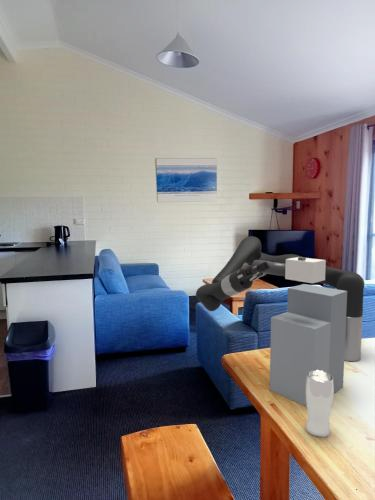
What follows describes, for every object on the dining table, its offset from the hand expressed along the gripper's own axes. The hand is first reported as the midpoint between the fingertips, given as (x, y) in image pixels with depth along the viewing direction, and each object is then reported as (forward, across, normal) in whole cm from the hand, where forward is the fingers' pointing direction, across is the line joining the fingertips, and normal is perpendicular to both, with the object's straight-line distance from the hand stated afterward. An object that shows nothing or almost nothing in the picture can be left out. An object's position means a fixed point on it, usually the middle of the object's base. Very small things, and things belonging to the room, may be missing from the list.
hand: (271, 263), depth 114 cm
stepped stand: (-11, -5, -40) cm, 42 cm away
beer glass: (+1, +12, -47) cm, 49 cm away
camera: (+3, 0, -5) cm, 6 cm away
